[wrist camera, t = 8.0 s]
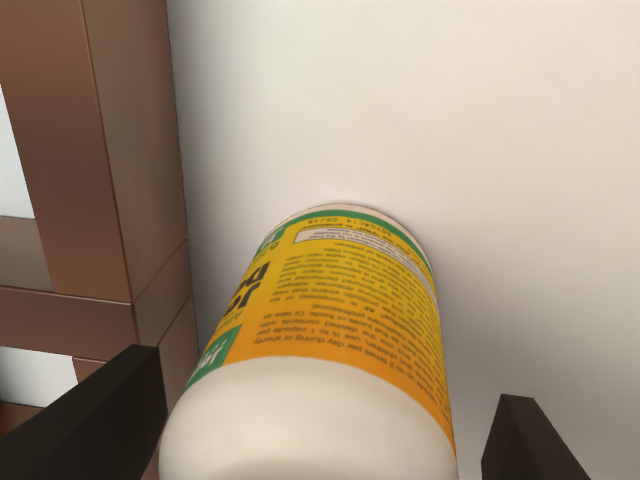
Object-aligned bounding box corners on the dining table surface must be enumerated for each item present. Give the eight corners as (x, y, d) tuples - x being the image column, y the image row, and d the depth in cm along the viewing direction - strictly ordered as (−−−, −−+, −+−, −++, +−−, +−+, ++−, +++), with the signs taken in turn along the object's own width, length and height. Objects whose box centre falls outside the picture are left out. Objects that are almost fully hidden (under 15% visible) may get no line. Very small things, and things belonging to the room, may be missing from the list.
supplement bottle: (404, 368, 16) (410, 807, 7) (244, 326, 16) (73, 712, 8) (461, 223, 13) (569, 649, 5) (269, 175, 13) (50, 508, 5)
